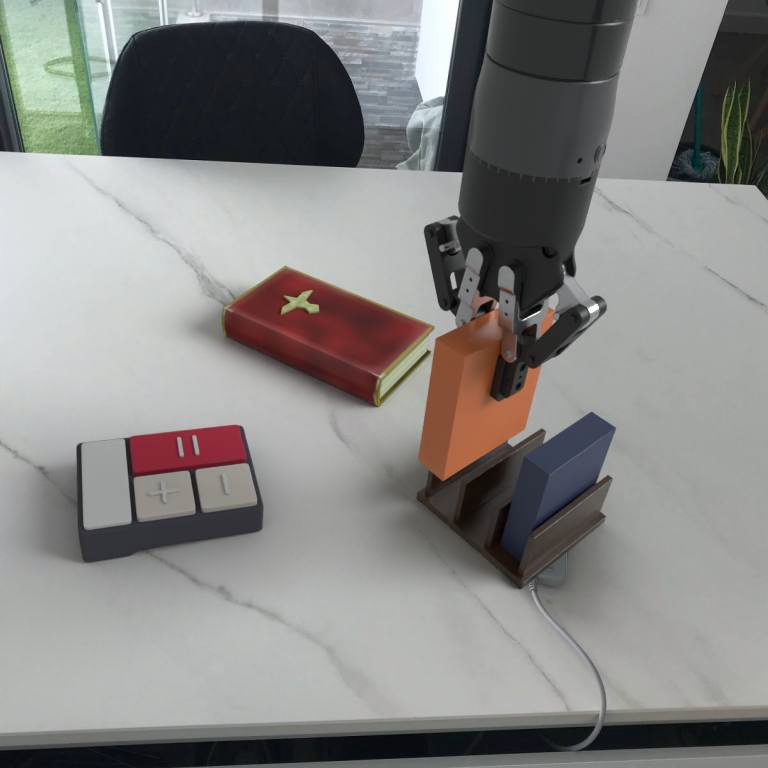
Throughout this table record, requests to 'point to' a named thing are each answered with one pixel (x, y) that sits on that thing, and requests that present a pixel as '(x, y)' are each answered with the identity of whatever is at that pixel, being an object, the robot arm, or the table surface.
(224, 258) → the table surface
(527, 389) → the orange book
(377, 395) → the hardcover book
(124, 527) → the calculator
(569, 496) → the navy book
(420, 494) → the book rack
